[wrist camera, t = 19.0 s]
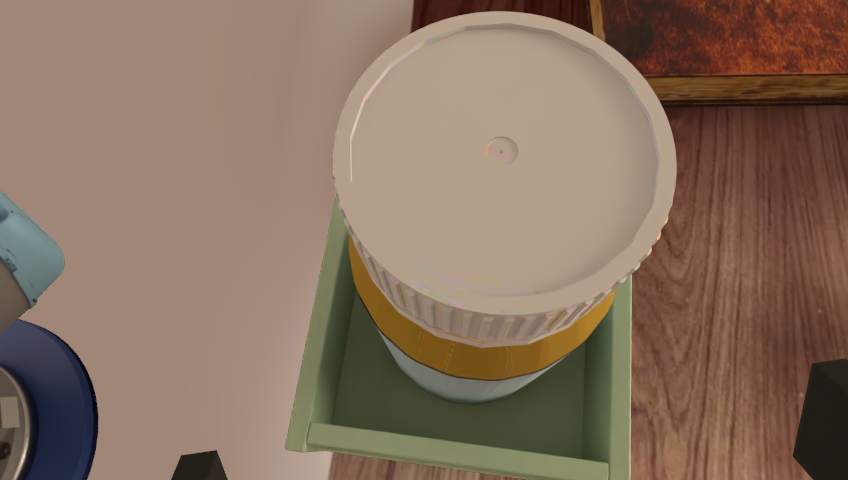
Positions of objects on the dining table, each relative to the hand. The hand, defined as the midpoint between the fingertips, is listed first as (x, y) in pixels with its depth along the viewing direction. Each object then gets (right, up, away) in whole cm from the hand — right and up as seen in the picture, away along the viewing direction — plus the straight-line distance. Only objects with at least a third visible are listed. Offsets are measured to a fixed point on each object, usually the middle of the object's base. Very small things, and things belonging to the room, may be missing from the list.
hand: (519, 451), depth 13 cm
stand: (+1, -8, +36) cm, 37 cm away
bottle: (0, +1, +12) cm, 12 cm away
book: (+31, +30, +49) cm, 65 cm away
